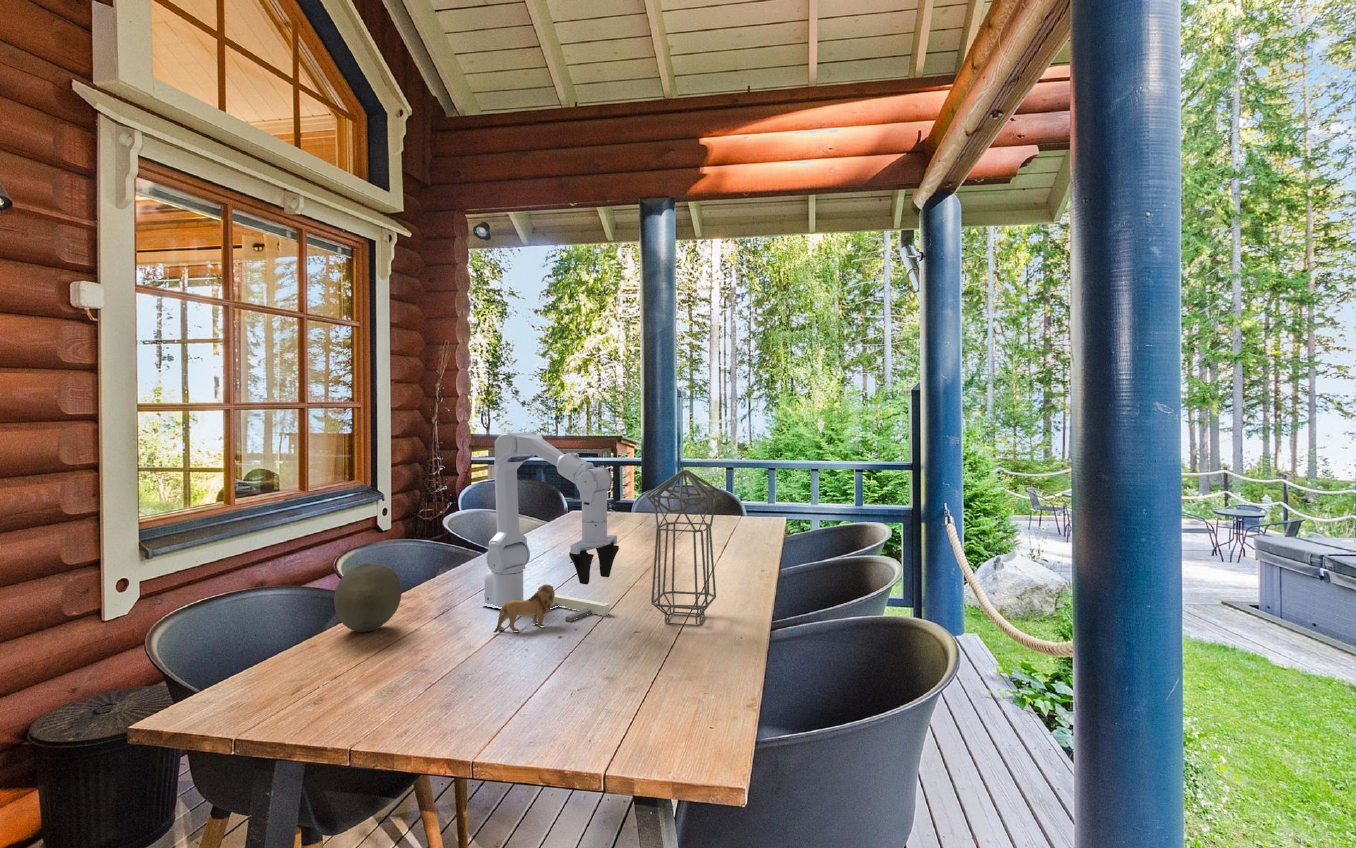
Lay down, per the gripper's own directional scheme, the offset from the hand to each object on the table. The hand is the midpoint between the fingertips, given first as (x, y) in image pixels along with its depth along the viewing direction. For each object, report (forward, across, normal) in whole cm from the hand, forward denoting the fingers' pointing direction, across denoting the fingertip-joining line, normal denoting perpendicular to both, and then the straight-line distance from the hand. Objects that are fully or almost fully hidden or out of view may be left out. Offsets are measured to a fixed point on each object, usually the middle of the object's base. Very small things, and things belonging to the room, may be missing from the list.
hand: (594, 580), depth 152 cm
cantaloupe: (+10, -30, +40) cm, 51 cm away
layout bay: (+10, +2, +12) cm, 16 cm away
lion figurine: (+10, -10, +12) cm, 19 cm away
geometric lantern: (+10, +13, -16) cm, 23 cm away
